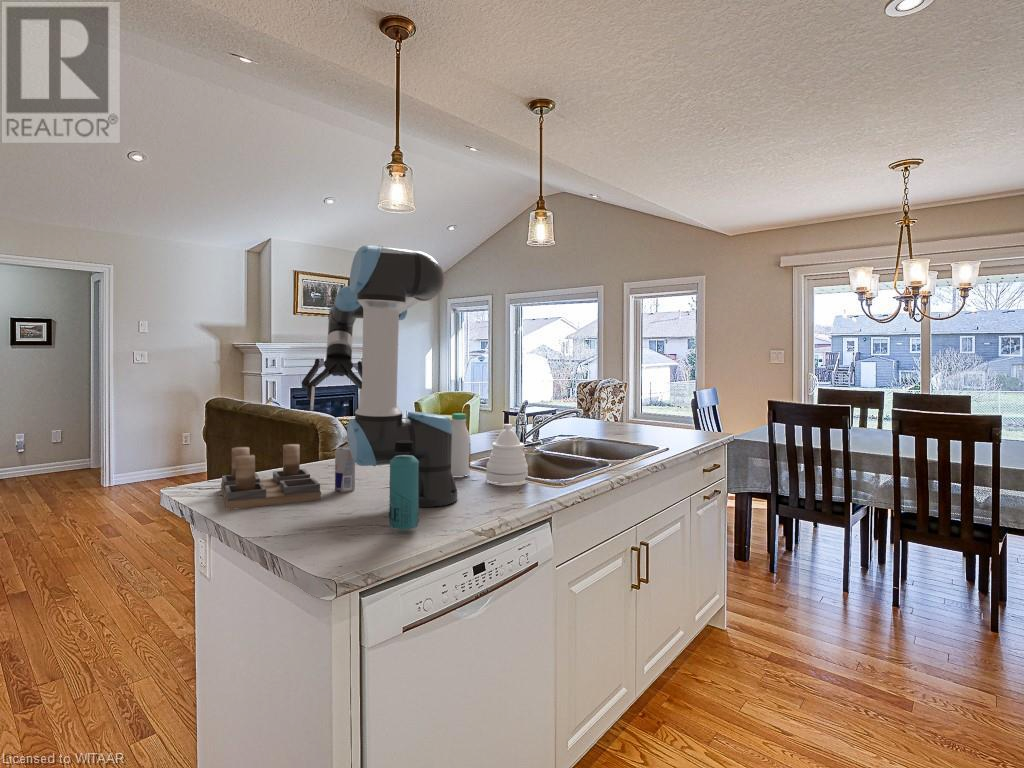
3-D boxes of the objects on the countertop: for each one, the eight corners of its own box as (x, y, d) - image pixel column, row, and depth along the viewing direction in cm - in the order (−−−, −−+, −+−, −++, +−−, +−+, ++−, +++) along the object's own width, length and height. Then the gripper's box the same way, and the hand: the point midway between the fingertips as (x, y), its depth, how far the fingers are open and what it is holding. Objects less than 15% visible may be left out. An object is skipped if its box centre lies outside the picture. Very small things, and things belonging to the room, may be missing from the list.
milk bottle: (466, 478, 172) (467, 415, 171) (442, 477, 174) (443, 414, 173) (472, 473, 180) (474, 413, 179) (450, 472, 181) (451, 412, 180)
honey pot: (527, 487, 164) (529, 426, 163) (484, 485, 164) (486, 425, 163) (527, 477, 176) (528, 421, 175) (487, 476, 177) (488, 420, 176)
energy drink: (337, 488, 157) (337, 446, 156) (356, 488, 157) (356, 446, 157) (332, 492, 151) (333, 449, 151) (352, 492, 152) (353, 449, 151)
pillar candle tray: (320, 499, 144) (321, 454, 144) (226, 509, 133) (226, 460, 132) (304, 482, 163) (304, 441, 162) (221, 489, 152) (221, 446, 151)
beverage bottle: (424, 529, 122) (425, 439, 121) (409, 538, 115) (410, 443, 114) (398, 525, 124) (399, 437, 123) (382, 534, 117) (383, 441, 116)
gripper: (379, 358, 179) (378, 416, 168) (297, 352, 171) (291, 413, 160) (381, 345, 172) (381, 404, 162) (296, 339, 165) (290, 401, 154)
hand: (336, 409), depth 161 cm, fingers open, 13 cm apart
